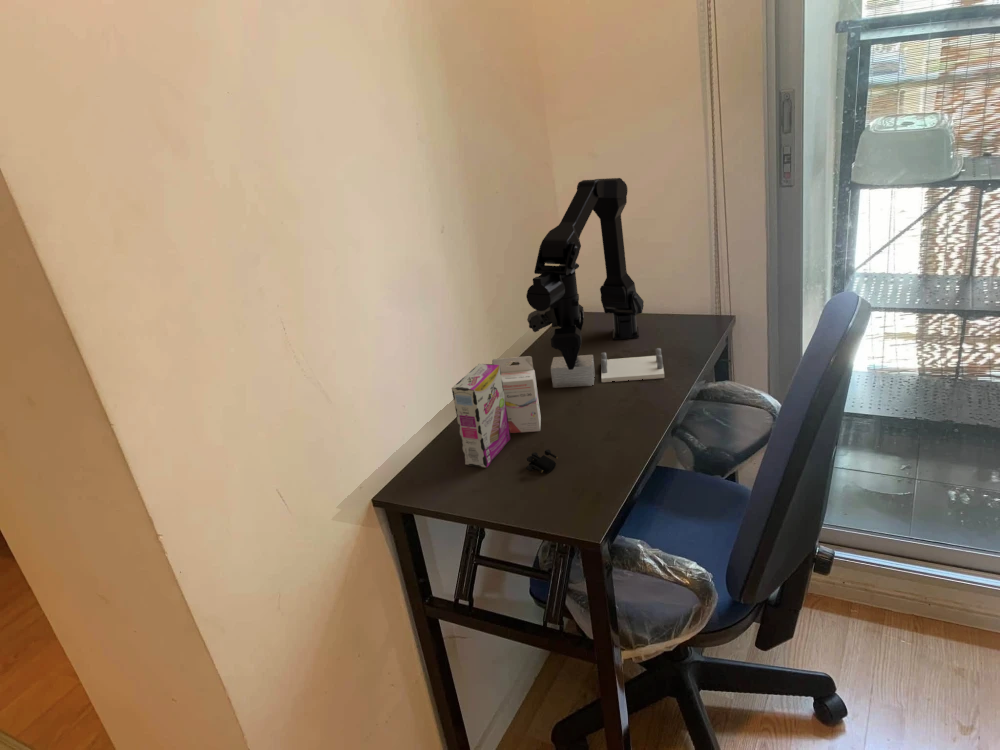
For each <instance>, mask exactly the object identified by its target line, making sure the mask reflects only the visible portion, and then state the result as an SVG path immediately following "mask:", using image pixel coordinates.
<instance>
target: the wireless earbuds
mask: <svg viewBox="0 0 1000 750" xmlns="http://www.w3.org/2000/svg"><path fill="white" fill-rule="evenodd" d="M547 456H550V457H553V458H554V459H556V460H558V458H559V457H558V456H557V455H556V454H553V453H552V451H551V449H545V450H544V454H543V455H542V456H541V457H540V456H539V454H538V452H535V451H533V452H532V453H531V455H530V456H528V457H526V461H527V462H529V463H528V465H527V466H526V470H527V471H529V472H532V471H534V470H537V471H538V472H540V473H541V474H542V473H544V474H549V473H551V472H552V471H553V470H554V469H555V468H556V465H557V464H556V461H555V460H553V459H552V458H550V457H547Z"/></svg>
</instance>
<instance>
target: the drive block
mask: <svg viewBox="0 0 1000 750" xmlns="http://www.w3.org/2000/svg"><path fill="white" fill-rule="evenodd" d="M595 372H596V371H595V361H594V354H585V355H583V354H581V355H578V356H577V359H576V363H575V366H574V369H572V370H569V369H568V367H567V364H566V362H565V359H564V357H563V356H554V357H553V358H552V361H551V365H550V375H551V381H552V388H556V389H557V388H558V389H559V388H572V387H574V388H575V387H576V388H577V387H593V386H592V385H594V383H595V378H594V377H596V373H595Z"/></svg>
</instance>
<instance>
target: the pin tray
mask: <svg viewBox="0 0 1000 750" xmlns="http://www.w3.org/2000/svg"><path fill="white" fill-rule="evenodd" d="M600 357H601V358H600V365H601V367H600V368H601V383H612V381H615V382H626V381H628V380H629V381H639V380H640V381H642V379H643V380H655V379H656V380H657V379H665V369H664V364H663V363H664V362H663V354H662V348H661V347H657V348H655V355H646V356H633V357H623V358H620V357H619V358H610V359H608V357H607V352H605V351H604V352H601V353H600Z"/></svg>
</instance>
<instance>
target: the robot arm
mask: <svg viewBox="0 0 1000 750" xmlns="http://www.w3.org/2000/svg"><path fill="white" fill-rule="evenodd" d="M627 197H628V185H627V183H626V181H624V180H623V179H622V178H621V177H610V178H607V177H606V178H595V179H583V180H580V181H578V182H577V186H576V192H575V194H574V195H573V198H572V199H571V202H570V203H569V205H568V207H567V209H566V211H565V213H564V215H563V217H562V218H561V220H560V223H559V224H558V225H556V226H555V227H554V228H551V230H549V231H548V233H546V235H545V236H544V238H543V239H542V241H541V243H540V244H539V245H540V246H539V248H538V253H537V259H536V262H535V268H534V271H533V272H534V274H535V275H537V276H535V277H533V278H532V284H531V285H530V286H529V287H528V288H527V291H526V294H525V295H526V300H527V303H528V304H529V306H530V307H531V308H532V309H533V311H532V312H530V313H529V314H528V316H527V319H526V321H527V322H528V327H529V329H532V332H534V333H537V332H539V331H540V330H541V329H544V328H546V327H548V326H551V328H555V329H554V330H553V331H552V332H551V334H550V346H551V348H553V349H555V350H558V351H560V353H561V354H562V357H564V359H565V362H566V364H567V367H568V369H569V370H572V369H574V366H575V363H576V359H577V356H579V354H580V353H579V352H580V349H581V346H582V329H583V325H584V318H585V312H584V306H583V305H581V304H580V295H579V293H578V286H577V285H578V283H577V276H576V274H577V273H576V270H578V269H579V267H580V264H579V263H577V260H578V257H579V254H580V251H581V248H582V245H581V240H580V237H581V235H582V232H583V230H584V228H585V226H586V224H587V223H588V220H589V218H590V217H591V214H592V212H594V213H595V214H596V216H597V217H598V219H599V221H600V230H601V239H602V247H603V248H602V249H603V256H604V264H605V265H604V266H605V275H606V278H605V280H604V282H603V283H602V285H601V286H600V288H599V292H600V301H601V304H602V305H601V306H602V308H603V311H604V314H612V322H613V329H612V339H613V340H623V339H624V340H625V339H634V338H635V339H637V338H639V337H640V334H639V333H640V331H639V326H637V315H640V314H642V313H643V310H644V303H645V302H644V301H645V300H643V298H642V297H641V296H640V295H639V293H638V292H637V289H636V284H635V281H634V280H633V278H632V277H631V276H630V275H629V274H628V271H627V264H626V263H627V261H626V252H625V243H624V232H623V225H622V223H623V222H622V213H623V211H624V209H625V207H626V205H627ZM546 264H547V265H546ZM558 327H559V328H558Z"/></svg>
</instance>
